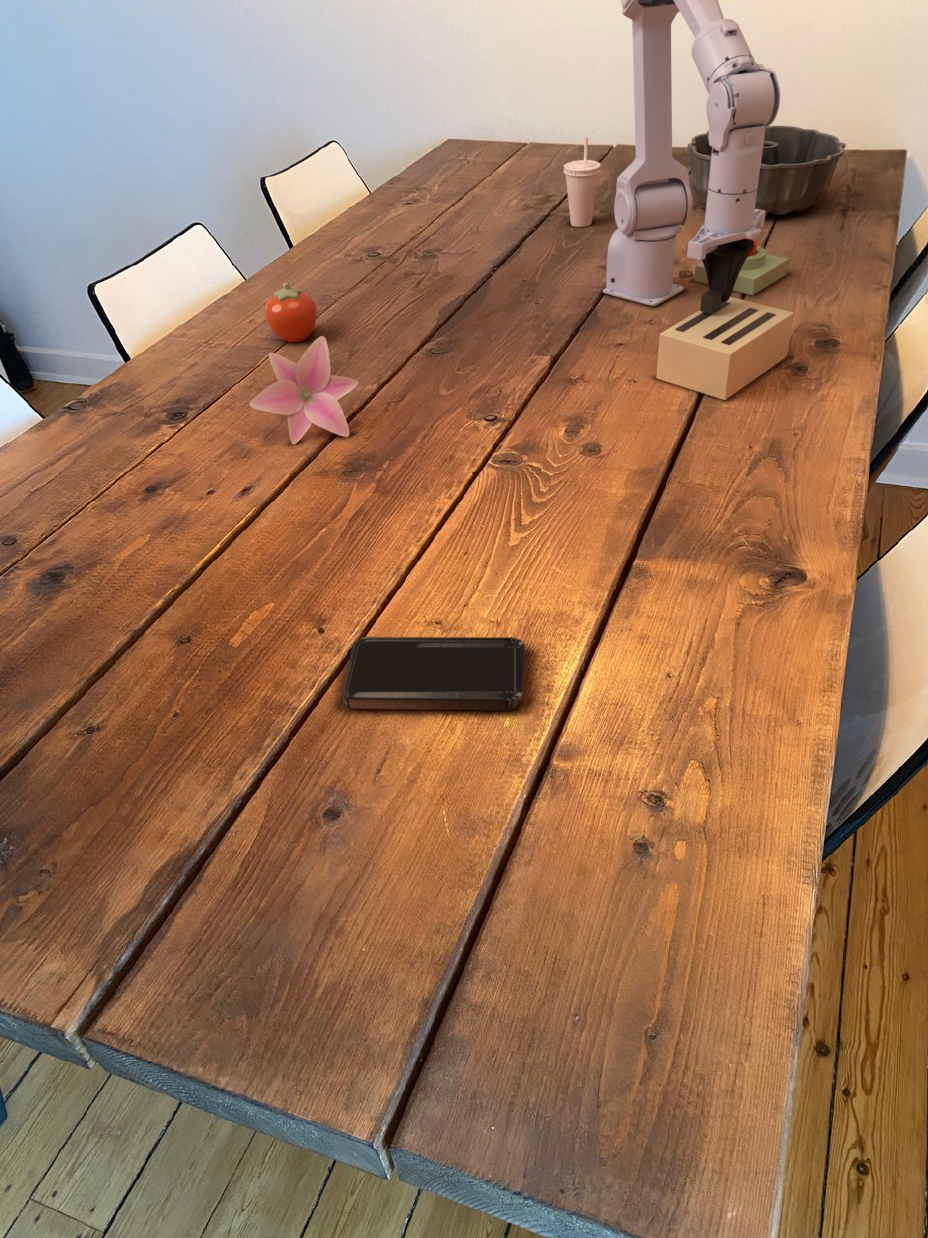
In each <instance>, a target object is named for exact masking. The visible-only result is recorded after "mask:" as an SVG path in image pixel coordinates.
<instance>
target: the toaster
mask: <svg viewBox="0 0 928 1238" xmlns="http://www.w3.org/2000/svg"><path fill="white" fill-rule="evenodd" d="M794 314H795V313H794V312H793V311H790V310H785V309H781V308H777V307H773V306H769V305H766V304H761V303H757V302H753V301H750V300H745V299H741V298H737V297H733V296H730V298H729V300H727V301H726V302H724V303H723V302H721V307H720V309H719V310H718V311H716V312H715V313H713V314H710V313H706V312H702V311H700V309H699V310H697V311H696V312H694V313H692V314H691V315H689V316H687V317H685V318H684V319H682V320H680V321H678V322H677V323H676V324H674V325H672V326H670V327H669V328H667V329H665V330H664V331H662V332H660V333H659V338H658V353H657V363H656V364H657V365H656V379H657V380H660V381H663V382H667V383H670V384H672V385H676V386H678V387H682V388H685V389H688V390H692V391H693V392H698V393H701V394H703V395H707V396H710V397H714V398H716V399H720V400H723V401H726V400H727V399H729V398H730V397H732V396H733V395H735V394H736V393H738V392H739V391H740V390H741V389H743V388H745V387H746V386H747V385H749V384H750V383H751V382H753V381H755V380H756V379H757V378H758V377H760V376H762V375H763V374H764V373H766V372H767V371H768V370H770V369H772V368H773V367H774V366H776V365H777V364H779V363H780V362H781V361H783V360H784V359H786V358H787V357H788V349H789V344H790V337H791V333H792V325H793V322H794V321H793V320H794Z"/></svg>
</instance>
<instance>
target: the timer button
mask: <svg viewBox="0 0 928 1238" xmlns="http://www.w3.org/2000/svg"><path fill="white" fill-rule="evenodd" d="M744 239H748V238H744ZM749 240H753V241H754V248H753V250H752V251H751V253H750V254H749V255H748V256H753V255H756V248H757V246H758V242H757V240H755V239H749Z"/></svg>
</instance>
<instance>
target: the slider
mask: <svg viewBox="0 0 928 1238" xmlns="http://www.w3.org/2000/svg"><path fill="white" fill-rule="evenodd" d="M721 299H722V292H718V291H714V290H709V289H707V291H705V292H703V293H702V294H701V298H700V307H699V310H700V311H702V312H706V313H710V314H713V313H715V312H716V311H718V310H719V309H720V307H721Z"/></svg>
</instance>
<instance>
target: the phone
mask: <svg viewBox="0 0 928 1238" xmlns="http://www.w3.org/2000/svg"><path fill="white" fill-rule="evenodd" d="M524 679H525V643H524V642H523V640H521V639H520V638H517V637H510V636H509V637H507V636H506V637H503V636H502V637H501V636H500V637H493V636H492V637H489V636H488V637H485V636H484V637H483V636H482V637H481V636H479V637H477V636H475V637H473V636H471V637H470V636H452V637H451V636H447V637H446V636H363V637H360V638H358V639H357V640H355V641H354V642H353V644H352V648H351V650H350V655H349V659H348V663H347V668H346V671H345V676H344V679H343V683H342V688H341V694H342V699H343V704H344V705H345V706H347V708H350V709H356V710H361V709H362V710H434V711H435V710H439V711H441V710H442V711H443V710H444V711H447V710H448V711H456V710H457V711H513V710H516V709H518V708H520V707H521V706H522V704H523V702H524V682H525V681H524Z"/></svg>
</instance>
